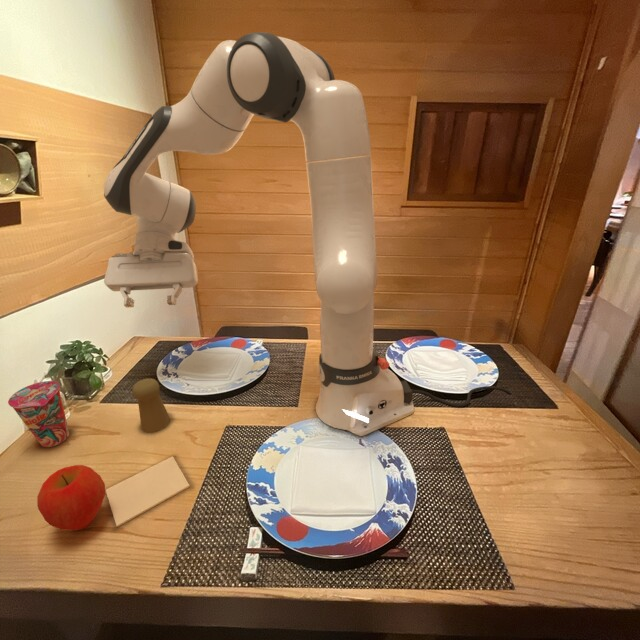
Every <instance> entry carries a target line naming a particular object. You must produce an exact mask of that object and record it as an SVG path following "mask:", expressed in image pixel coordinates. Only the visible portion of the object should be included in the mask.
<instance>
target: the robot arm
mask: <svg viewBox="0 0 640 640" xmlns="http://www.w3.org/2000/svg"><path fill="white" fill-rule="evenodd" d="M364 101H365V100H364V97H363V94H362V92H361V91H360V89H359V88H358V87H357V86H356V85H355V84H353V83H351V82H349V81H346V80H342V79H336V78H335V74H334V72H333V69H332V67H331V65H330V64H329V63H328V61H327V60H326V59H325V57H323V56H322V55H321V54H320V53H318V52H316V51H314V50H311V49H308V48H307V47H305V46H304V45H302V44H301V43H299V42H298V41H295V40H293V39H290V38H286V37H283V36H277V35H276V34H273V33H271V32H267V31H266V32H265V31H257V32H256V31H255V32H249V33H247V34H244V35H243V36H241V37H240V38H239V39H237V40H234V39H226V40H223V41H221V42H219V43H218V45H216V47H215V48H214V50H213V51H212V52H211V53H210V55H209V57H207V59H206V61H205V62H204V64H203V65H202V67H201V68H200V70H199V72H198V74H197V75H196V77H195V80H194V82H193V84H192V86H191V88H190V90H189V92H188V93H187V94H186V95H185V97H183V99H181V100H180V101H178V102H177V103H175V104H172V105H161V107H159V108H158V109H157V110H156V111H155V112H154V113H153V114H152V115H151V117H149V119H148V121H146V123H145V125H144V126H143V128H142V129H141V130H140V132H139V133H138V134H137V136H136V137H135V139H134V140H133V142H132V143H131V144H130V146H129V148H128V149H127V151H126V152H125V153H124V155H123V156H122V157H121V159H120V160H119V161H118V162H117V163H115V165H114V166H113V167H112V169H111V171H109V173H108V174H107V176H106V178H105V181H104V186H103V197H104V199H105V201H107V203H108V204H109V206H110V207H111V208H112V209H113V210H114V211H115V212H116V213H121V214H124V215H129V216H134V217H136V226H137V232H136V234H135V238H134V245H133V246H134V247H133V252H126V253H122V252H118V253H115V254H114V255H112V256H110V257H109V258H108V262H107V268H106V271H105V274H104V280H103V283H104V285H105V286H106V287H107V288H108V289H109V290H110V291H112V292H120V294H121V296H122V297H123V306H124V307H125V308H127V309H128V308H134V307H135V300H134V299H133V297H130V296H129V295H131V291H148V290H166V289H173V291H172V293H171V294H170V295H167V297H166V304H167V305H168V306H176V305H177V299H178V298H179V296H180V295H181V293H182V292H183V289H187V288H195V287H196V286H197V285H198V283H199V273H198V272H199V271H198V267H197V264H196V262H195V254H194V251H193V250H192V248H191V247H190V246H189V245H188V243H187V242H185V241H180V240H176V239H175V235H176V234H180V233H182V232H183V231H185V230H186V229H188V228H190V227H191V226H192V225H193V223H194V221H195V218H196V211H197V201H196V199H195V196H194V194H193V192H192V191H191V190H190V189H188V188H186V187H184V186H181V185H179V184H177V183H175V182H171V181H168V180H165V179H163V178H161V177H158V176H155V175H153V174H150V173H148V172H147V171H148V170H149V169H150V167H151V166H152V165H153V163H155V161H156V160H157V158H158V157H159V156H160V155H162V154H164V153H168V152H185V153H193V154H198V155H206V156H215V155H221V154H225V153H227V152H229V151H230V150H231V149H233V148H234V147H235V145H236V144H238V142H239V140H240V139H241V137H242V136H243V134H244V132H245V131H246V129H247V128H248V126H249V125H250V122H251V121H252V118H253V117H254V116H257V117H258V118H259V117H260V118H262V119H267V120H272V121H275V122H276V121H277V122H280V123H287V122H292V123H294V124H295V125H296V126H297V127H298V129H299V130H300V133H301V136H302V140H303V145H304V157H305V165H306V175H307V176H306V177H307V185H308V193H309V201H310V202H309V203H310V214H311V239H312V257H313V258H312V259H313V260H312V261H313V271H314V273H313V275H314V283H315V290H316V293H317V295H318V296H317V297H318V298H319V301H320V317H319V330H320V331H319V333H320V354H319V355H318V356H319V357H318V361H319V362H318V375H319V376H318V377H319V379H320V386H319V394H318V397H317V401H316V404H315V412H316V413H315V414H316V415H317V417H318V418H319V420H320V421H321V422H323V423H324V424H326V425H327V426H330V427H331V428H335V429H338V430H344V431H348V432H350V433H352V434H354V435H356V436H360V437H363V436H366V435H369V434H371V433H374V432H376V431H378V430H380V429H382V428H384V427H386V426H388V425H390V424H393V423H395V422H397V421H399V420H403V419H404V418H406V417H409V416H411V415H413V414H414V412H415V404H414V402H413V401H414V400H413V394H419V395H425V396H427V397H428V398H430V399H431V400H434V401H436V402H439V403H442V404H444V405H447V406H451V407H457V408H461V407H465V406H468V405H469V404H470V402H471V398H472V395H473V393H476V392H480V391H486V390H487V391H488V390H496V391H500V392H503V393H505V394H507V395H509V396H512V392H511V391H510V390H508V389H507V388H504V387H501V386H497V385H486V386H479V387H475V388H472V389H470V390H469V391H468V393H467V396H466V400H465V401H464V402H451V401H448V400H446V399H442V398H440V397H437V396H435V395H433V394H431V392H427V391H425V390H420V389H413V388H411V387H410V385H409V383H408V381H407V380H400V379H399V378H398V376H397V375H396V374H395V373H394V372H393V371H392V370H390V369H389V367H390V362H389V361H388V360H386V358H385V357H381V355H380V354H379V352H378V351H376V350H374V330H375V329H374V328H375V292H376V288H377V284H378V263H377V262H378V261H377V245H376V243H377V242H376V228H375V227H376V226H375V212H374V209H375V208H374V191H373V188H374V187H373V169H372V168H373V167H372V165H373V164H372V149H371V148H372V147H371V146H372V145H371V135H370V128H369V122H368V121H369V120H368V116H367V111H366V106H365V102H364Z"/></svg>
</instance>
